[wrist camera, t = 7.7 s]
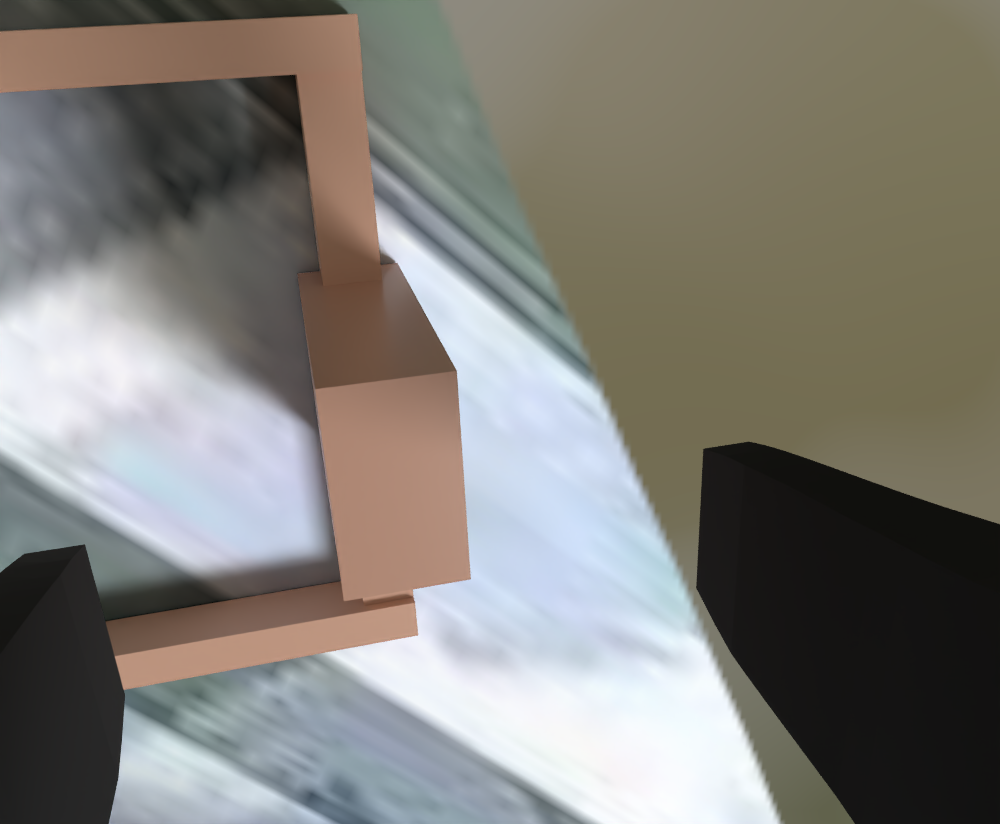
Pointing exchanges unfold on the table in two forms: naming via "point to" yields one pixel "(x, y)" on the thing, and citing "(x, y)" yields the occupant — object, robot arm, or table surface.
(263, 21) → the cup sled
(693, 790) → the table surface
